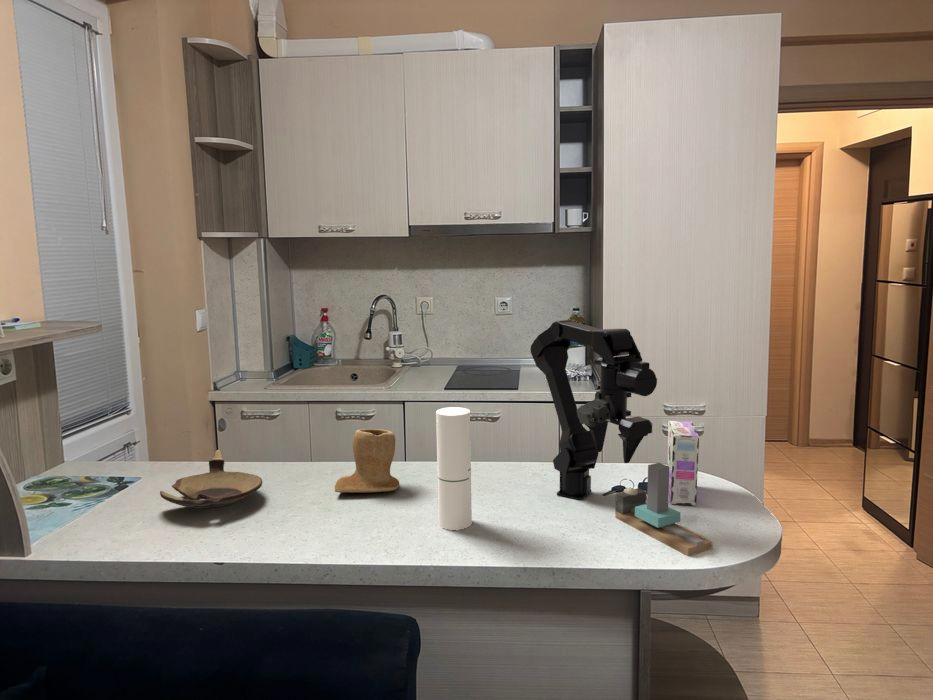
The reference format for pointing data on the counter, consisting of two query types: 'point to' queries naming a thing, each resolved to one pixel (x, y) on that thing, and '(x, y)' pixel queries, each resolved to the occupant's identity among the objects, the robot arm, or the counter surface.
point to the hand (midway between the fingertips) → (612, 457)
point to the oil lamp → (214, 486)
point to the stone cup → (370, 463)
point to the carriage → (657, 498)
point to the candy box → (682, 462)
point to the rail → (667, 534)
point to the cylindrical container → (454, 467)
